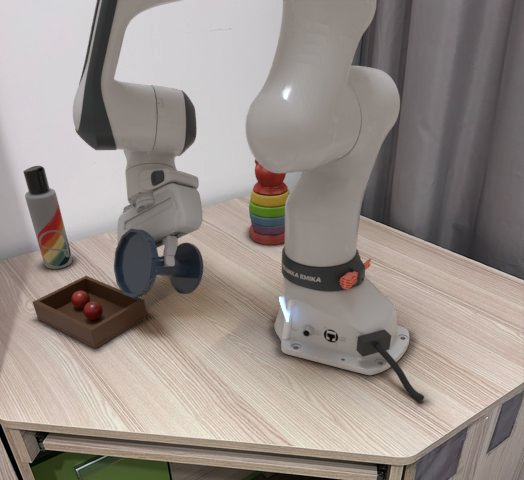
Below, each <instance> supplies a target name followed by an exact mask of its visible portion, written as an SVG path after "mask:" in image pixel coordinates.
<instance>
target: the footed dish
mask: <svg viewBox="0 0 524 480" xmlns="http://www.w3.org/2000/svg"><path fill="white" fill-rule="evenodd" d="M158 252H159V251H158V248H157V247H156V244H155V241H154V239H153V238H152V236H151V235H150V234H149V233H148V232H147V231H145V230H140V229H132V228H131V229H130V230H128V231H127V232H126V233H125V234H123V235H122V236H121V239H120V241H119V243H118V245H117V246H116V248H115V251H114V260H113V261H114V263H113V272H114V276H115V283H116V285H117V287H118V289H119V290H121V291H122V293H123V294H124V295H126V296H129V297H132V298H137V297H139V298H143V297H144V296H146V295H148V293H149V292H150V291H151V290H152V289H153V287H154V284H155V282H156V280H157V276H162V277H169V282H170V285H171V286H172V288H173V289H174V290H175V291H176V292H177V293H178V294H181V295H190V294H192V293H194V292H195V291H196V290H197V289H198V287H199V286H200V285H201V282H202V279H203V275H204V259H203V255H202V253H201V250H200V249H199V248H198V247H197V245H195V244H193V243H191V242H182V243H179V244H178V246H177V249H176V253H175V256H174V259H175V265H174V266H173V267H170V268H164V267H162V266H161V257H162V256H160V255H159V253H158Z"/></svg>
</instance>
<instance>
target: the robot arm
mask: <svg viewBox="0 0 524 480" xmlns="http://www.w3.org/2000/svg"><path fill="white" fill-rule="evenodd" d="M182 1H183V0H96V2H95V8H94V13H93V16H92V17H93V18H92V23H91V27H90V33H89V37H88V44H87V48H86V53H85V58H84V63H83V67H82V72H81V76H80V79H79V83H78V87H77V89H76V92H75V95H74V100H73V103H72V121H73V125H74V130H75V133H76V134H77V136H78V137H80V139H81V140H83V141H84V143H85V144H86V145H88V146H89V147H90V148H92V149H93V150H95V151H117V150H121V151H122V150H123V154H124V156H125V159H126V166H125V173H124V174H125V184H126V185H125V186H126V199H127V202H128V204H127V205H125V206H124V207H123V209H122V210H123V211H122V212H121V214H120V215H119V217H118V220H117V226H116V227H117V228H116V229H117V231H116V233H117V235H116V241H117V242H116V243H117V246H118V243H119V241H120V239H121V236H122V235H123V234H125V233H126V232H127V231H128V230H130V229H131V228H132V229H140V230H145V231H147V232H148V233H149V234H150V235H151V236H152V238H153V239H154V241H155V244H156V247H157V249H158V248H160V247H162V246H164V248H163V254H162V256H161V266H162V267H164V268H170V267H173V266H174V265H175V259H174V256H175V253H176V249H177V246H178V245H179V241H178V239H180V238H182V237H184V236H187V235H189V234H192V233H193V232H195V231H198V230H199V229H200V228H201V226H202V224H203V205H202V200H201V194H200V192H199V190H198V188H199V187H200V186H199V185H200V181H199V177H198V176H196V175H193V174H191V173H187V172H184V171H181V170H177V167H176V163H175V162H176V161H175V160H176V157H180V156H182V155H183V154H184V153H185V152H186V151H187V150H188V149H190V147H191V146H193V144H194V143H195V141H196V139H197V113H196V108H195V105H194V104H193V101H192V99H190V97H189V96H188V95H187V93H186V92H185V90H183V89H178V88H176V87H168V86H162V85H156V84H155V85H154V84H151V85H148V84H144V83H143V84H142V83H134V82H125V81H119V80H117V79H115V76H116V72H117V68H118V63H119V60H120V56H121V52H122V51H121V50H122V47H123V42H124V38H125V33H126V30H127V28H128V26H129V25H130V23H131V22H132V21H133V20H134V18H136V17H137V16H138V15H140V14H142V13H143V12H146V11H148V10H151V9H153V8H156V7H160V6H163V5H169V4H173V3H178V2H182ZM377 1H378V0H282V14H281V22H280V23H281V24H280V31H279V35H278V40H277V44H276V48H275V52H274V56H273V59H272V63H271V66H270V69H269V72H268V75H267V77H266V80H265V81H264V84H263V86H262V87H261V89H260V90H259V92H258V94H257V95H256V96H255V98H254V99H253V100H252V102H251V103H250V105H249V107H248V109H247V113H246V115H245V117H246V118H245V126H244V127H245V139H246V141H247V146H248V149H249V150H250V153H251V155H252V156H253V158H254V160H255V159H256V160H257V162H258V163H259V164H260V165H261V166H262V167H264V168H265V169H267V170H268V171H270V172H273V173H286V174H293V173H300V175H299V177H298V179H297V181H296V183H295V185H294V186H293V188H292V189H291V190H290V191H289V195H288V197H287V200H286V204H285V242H284V246H283V248H282V250H281V270H280V271H281V274H282V277H283V279H282V291H281V296H279V298H278V299H279V300H278V301H279V304H280V305H279V308H278V311H277V315H276V319H275V321H274V325H273V326H274V327H273V328H274V331H275V334H276V336H277V337H278V338H279V340H280V350H281V352H282V353H283V354H285V355H289V356H292V357H296V358H300V359H304V360H308V361H311V362H315V363H319V364H322V365H327V366H331V367H335V368H339V369H342V370H346V371H350V372H354V373H357V374H361V375H364V376H365V375H366V376H373V375H377V374H380V373H383V372H385V371H387V370H388V369H390V368H392V370H393V371H394V372H395V374H396V376H397V377H398V379H399V381H400V383H401V385H402V386H403V388H404V389H405V390H406V392H407V393H408V394H409V395H410V396H411V397H412V398H414V399H415V400H416V401H419V402H422V401H423V400H424V399H425V395H423V394H421V393H420V392H418V391H417V390H416V389H415V388H414V387H413V385H412V384H411V383H410V381H409V380H408V378H407V376H406V374H405V373H404V371H403V369H402V368H401V366H400V365H399V363H398V362H399V360H400V359H401V358H402V357H403V356H404V354H405V353H406V351H407V349H408V348H409V345H410V332H409V329H407V328H406V327H404V326H402V325H400V324H398V315H397V309H396V306H395V304H394V302H392V300H391V299H389V298H388V297H387V296H386V295H385V294H384V292H382V291H381V290H380V289H379V288H378V287H377V286H376V285H375V284H374V283H373V282H372V281H371V280H370V279H369V277H367V276H366V270H368V269H369V268H370V267H371V265H372V264H371V261H372V258H368V259H367V260H366V261H365V262H363V261H362V259H361V255H360V253H359V250H358V238H359V229H360V220H361V210H362V207H363V201H364V197H365V193H366V190H367V186H368V184H369V181H370V178H371V175H372V171H373V169H374V166H375V163H376V161H377V158H378V155H379V152H380V149H381V148H382V145H383V143H384V141H385V139H386V137H387V136H388V134H389V133H390V131H391V130H392V129H393V127H394V126H395V124H396V122H397V121H398V118H399V114H400V110H401V109H400V108H401V97H400V93H399V90H398V86H397V84H396V83H395V80H393V78H392V77H391V76H390V75H389V74H388V73H387V72H385V71H384V70H382V69H379V68H375V67H369V66H365V65H364V66H363V65H352V64H353V61H354V57H355V54H356V51H357V49H358V46H359V44H360V41H361V39H362V38H363V35H364V34H365V32H366V30H367V29H368V28H369V26H370V25H371V23H372V21H373V20H374V17H375V14H376V11H377V5H378V4H377Z"/></svg>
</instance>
